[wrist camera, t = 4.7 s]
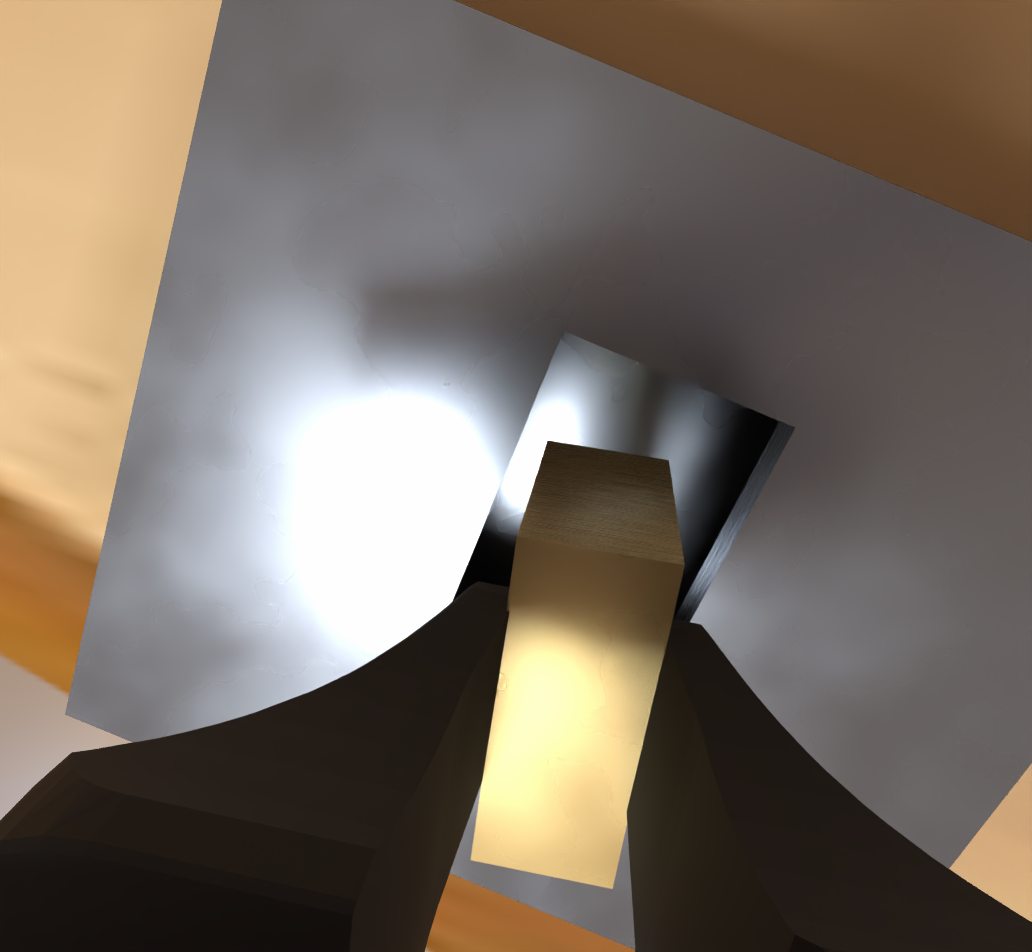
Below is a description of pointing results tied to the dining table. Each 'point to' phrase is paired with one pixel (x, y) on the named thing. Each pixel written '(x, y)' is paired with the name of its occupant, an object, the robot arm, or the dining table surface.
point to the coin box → (568, 402)
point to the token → (579, 662)
